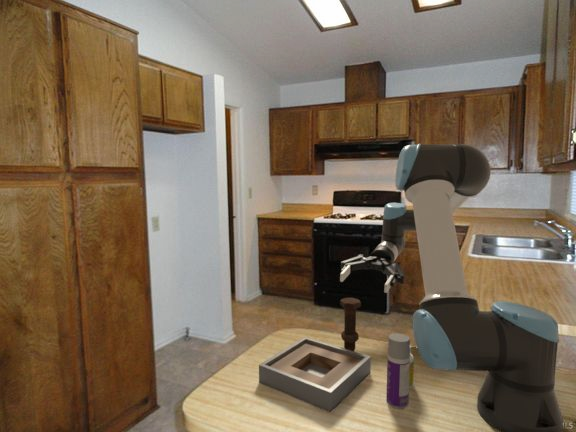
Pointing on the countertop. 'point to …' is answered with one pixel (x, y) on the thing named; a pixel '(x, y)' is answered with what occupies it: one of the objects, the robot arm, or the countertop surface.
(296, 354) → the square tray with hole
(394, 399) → the container
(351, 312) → the bolt
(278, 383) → the open box
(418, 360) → the countertop surface
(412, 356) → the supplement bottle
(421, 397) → the countertop surface
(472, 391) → the countertop surface
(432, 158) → the robot arm
